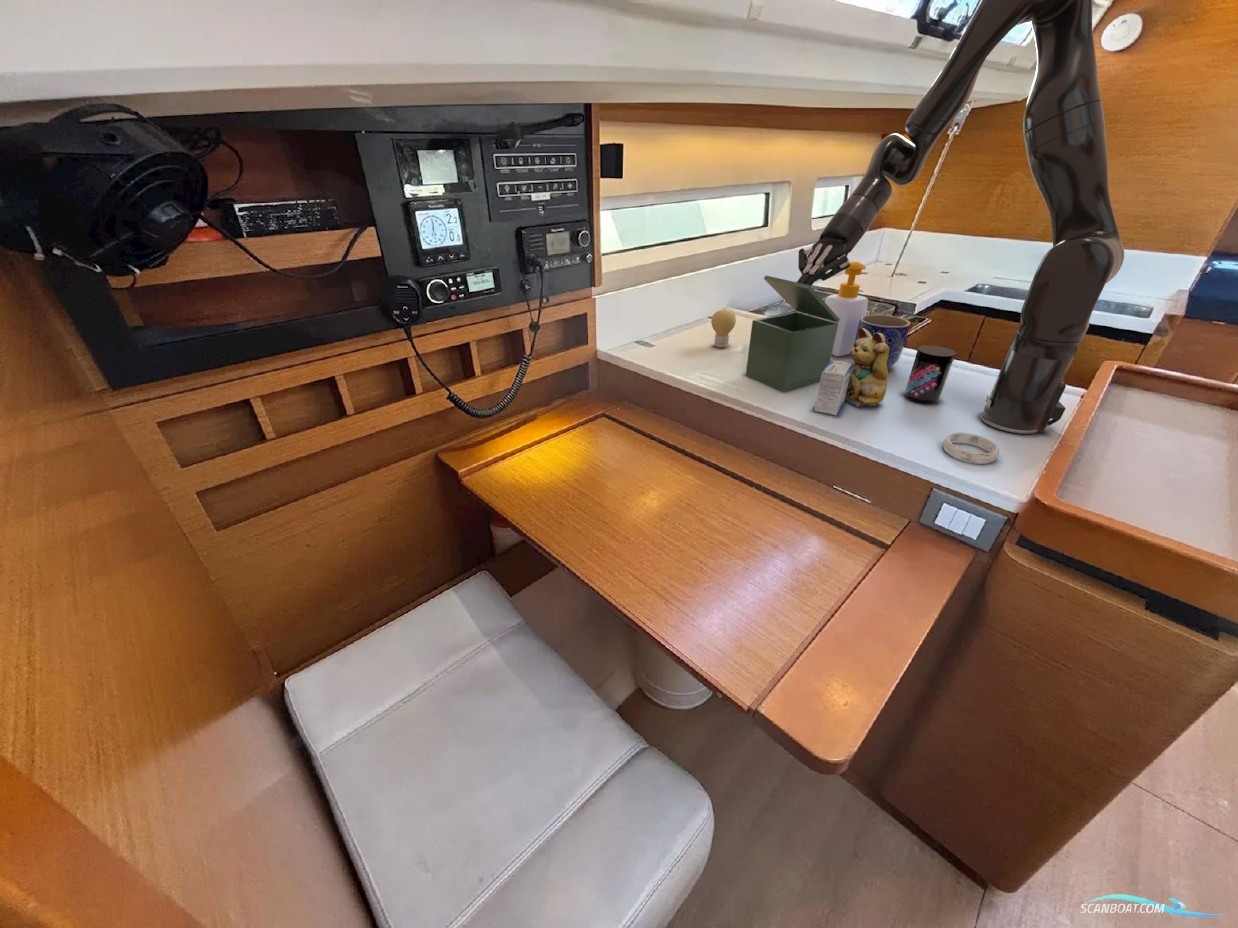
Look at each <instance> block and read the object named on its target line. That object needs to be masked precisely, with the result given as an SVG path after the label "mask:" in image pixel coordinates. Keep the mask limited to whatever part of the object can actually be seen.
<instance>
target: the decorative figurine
mask: <svg viewBox="0 0 1238 928" xmlns="http://www.w3.org/2000/svg"><path fill="white" fill-rule="evenodd" d="M888 354H889V347H888V345H887V344H886V343H885V337H884V335H883V334H881V333H875V334H874V335H873V337H872V335H871V334H870V333H869V332H868V331H867V330H866V329H864V328H860V329H859V339H858V340H856V341H855V343H854V344H853V346H852V347H851V350H850V354H849V355H850V356H851V359H853V362H851V363H852V364H853V367H852V371H851V375H850V379H849V384H848V388H847V392H846V396H845V401H846V402H849V403H850V404H852V405H853V406H855V407H858V408H859V407H874V406H879V403H882V401H883V400H884V398H885V395H886V392H887V389H888V376H889V369H887V359H888Z"/></svg>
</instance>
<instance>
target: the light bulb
mask: <svg viewBox="0 0 1238 928" xmlns="http://www.w3.org/2000/svg"><path fill="white" fill-rule="evenodd" d="M710 323H711V327H712V329H713V330H714V333H715V334H714V342H713V343H714V346H715V347H717V348H720V349H722V348H726V347H727V346H729V341H730V339H729V338H730V335H729V334H730V333H731V332H732V331H733V329H734V328H735V326H736V323H737V318H736V315H735V312H733V311H732V310H730V309H727V308H721V309H718V310H717V311H715V312H714V313H713V314H712V317H711V320H710Z"/></svg>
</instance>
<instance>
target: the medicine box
mask: <svg viewBox="0 0 1238 928" xmlns="http://www.w3.org/2000/svg"><path fill="white" fill-rule="evenodd" d="M852 367H853V364H852V362H849V361H841V360H834V359H831V360H830V363H829V364H828V366H827V367H826V368H825V370H824V371H823V372H822V375H821V379H820V381H819V385H818V389H817V395H816V400H815V405H814V411H815V412H817V413H821V414H827V415H831V416H837V415H838V413H839V412H840V411H841V408H842V406H843V405H844V403H845V401H846V400H845V396H846V392H847V388H848V384H849V379H850V375H851V371H852Z"/></svg>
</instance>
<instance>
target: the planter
mask: <svg viewBox="0 0 1238 928" xmlns="http://www.w3.org/2000/svg"><path fill="white" fill-rule="evenodd" d="M910 327H911V322H910V321H909V320H908V319H906V318H903V317H901V316H897V315H896V316H895V315H891V314H890V315H888V314H866V315H865V316H862V317H861V318H860V321H859V324H858V328H857V332H856V337H855V341H856V340H858V339H859V329H860V328H864V329H866V330H867V331H868V332H869V333H870V334H871V335H872V337H873V335H874V334H875V333H881V334H883V335H884V337H885V343H886V344H887V345H888V347H889V354H888V359H887V370H889V369H891V368H893V367H894V366H895V365H896V364H897V363H898V362H899V360H900V358H901V356H902V353H903V350H904V347H905V345H906V342H907V339H908V335H909V331H910ZM855 341H854V343H855Z"/></svg>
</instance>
